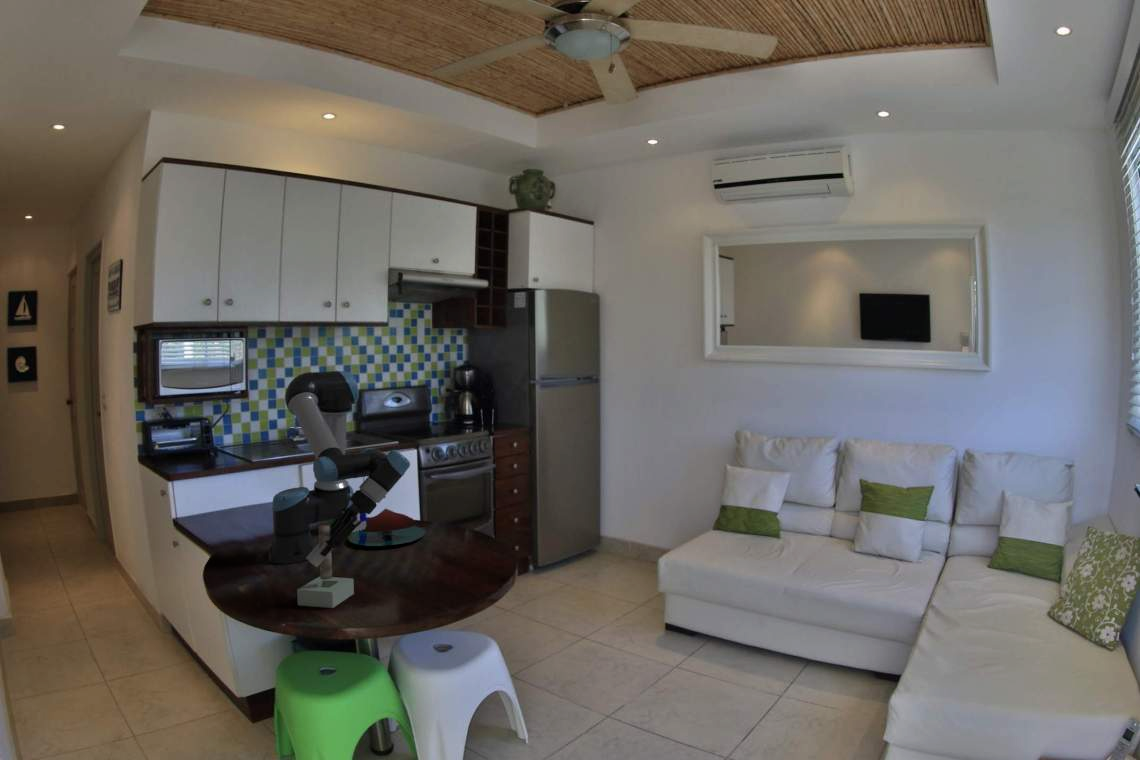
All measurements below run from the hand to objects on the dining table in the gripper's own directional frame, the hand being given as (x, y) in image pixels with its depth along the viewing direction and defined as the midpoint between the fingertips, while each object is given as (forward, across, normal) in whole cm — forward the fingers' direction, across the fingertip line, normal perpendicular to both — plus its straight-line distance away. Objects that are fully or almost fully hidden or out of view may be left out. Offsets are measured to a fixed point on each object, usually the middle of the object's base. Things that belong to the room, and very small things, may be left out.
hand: (311, 562), depth 191 cm
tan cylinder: (+1, 0, -6) cm, 6 cm away
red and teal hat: (-19, +50, -35) cm, 64 cm away
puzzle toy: (-12, +72, -29) cm, 79 cm away
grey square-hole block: (+6, 0, -11) cm, 12 cm away
